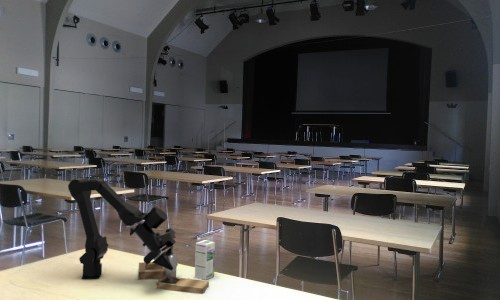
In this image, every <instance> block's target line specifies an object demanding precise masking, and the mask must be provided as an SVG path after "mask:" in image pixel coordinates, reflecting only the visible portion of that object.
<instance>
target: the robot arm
mask: <svg viewBox="0 0 500 300" xmlns="http://www.w3.org/2000/svg"><path fill="white" fill-rule="evenodd" d="M67 188H68V191H69V193H70V196H71V197H72V199H73V200H75V202H76V203H77V207H78V211H79V215H80V217H81V222H82V226H83V229H84V234H85V243H84V249H85V250H84V251H85V253H83V254H82V255H81V256H80V257H79V258H78V260H79V263H80V264H82V276H81V280H93V279H100V278H101V276H102V274H103V263H102V262H101V260H102V259H104V256H105V255H106V254H107V252H108V251H109V250H108V249H109V248H108V247H109V246H110V245H109V243H108V241H107V237H106V236H102V235H101V234H100V232H99V227H98V225H97V221H96V217H95V213H94V210H93V205H92V202H91V196H92V191H96V192H97V193H98V195H100V196H101V197H102V198H103V199H104V200H105V201H106V202H107V203H108V204H109V205H110V206H111V207H112V208H113V209H114V210H115V211H116V213H117V215H118V218H119V219H120V220H121V221H122V223H123V224H124V225H125V226H126V227H131V228H130V231H129V236H133V235H136V236H137V237H138V238H139V239H140V240H141V242H142V243H143V244H142V246H143V247H147V249H148V250H149V252H148V253H147V254H146V255H145V256H144V257H143V262H145V263H146V265H148V264H149V263H150V262H152V263H155V264H157V265H160V266H162V267H164V268H167V269H169V270H173V267H172V265H171V264H170V262H169V261H168V259H167V258H166V254H169V253H174V252H173V251H174V249H173V248H174V247H175V246H174V245H175V244H176V243H177V241H176V240H175V239H176V231H175V230H174V229H172V227H169V228H167V229H166V230H165V232H164V233H162V234H161V233H160V232H155V230H157V229H159V227H161V225H163V224H164V222H166V221H167V220H168V215H167V213H166V212H165V211H164V210H162V209H161V208H159V207H157V206H153V207H152V208H151V209H150V211H149V212H142V210H140V209H139V208H137V207H136V206H134V205H132V204H130V203H128V202H127V201H125V200H124V199H123V198H122V197H121V196H120V195H119V194H118V193H117V192H116V191H115V190H114V189H113V188H112V187H111V186H110V185H109V184H108V183H107V181H106V180H104V179H88V178H86V177H81V178H75V179H71V181H69V184H68V186H67ZM141 222H142V223H141ZM136 224H137V225H136ZM134 225H135V226H134ZM133 226H134V227H133ZM154 229H155V230H154ZM177 266H178V263H177Z"/></svg>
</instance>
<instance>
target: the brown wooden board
mask: <svg viewBox="0 0 500 300" xmlns="http://www.w3.org/2000/svg"><path fill="white" fill-rule="evenodd" d="M165 277H166V276H164V277H163V278H162V279H158V281H157V282H156V285H155V287H156V288H155V289H158V290H167V291H175V292H185V293H191V294H192V293H193V294H199V295H200V294H201V295H203V294H204V293H205V292H206V291H207V289H208V288H209V286H210V282H209V280H203V279H194V278H186V277H184V278H183V277H178V276H176V284H169V283H165Z"/></svg>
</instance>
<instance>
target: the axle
mask: <svg viewBox="0 0 500 300" xmlns="http://www.w3.org/2000/svg"><path fill="white" fill-rule="evenodd" d="M166 258H167V259H168V261H169V262H170V264H171V265H172V267H173V270H169V269H167V268H166V277H165V283H169V284H176V277H177V266H178V265H177V264H178V254H177V253H174V252H173V253H169V254H166Z"/></svg>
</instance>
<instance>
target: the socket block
mask: <svg viewBox="0 0 500 300" xmlns="http://www.w3.org/2000/svg"><path fill="white" fill-rule="evenodd" d="M152 262H153V261H151V262H150V263H149V264H148V265H146V263H145V262H144V261H143V262H138V274H137V275H138V277H137V278H138V280H140V281H141V280H142V281H143V280H144V281H145V280H161V279H162V278H163V277H164V276H166V268H164V267H162V266H160V265H157V264H155V263H152Z"/></svg>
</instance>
